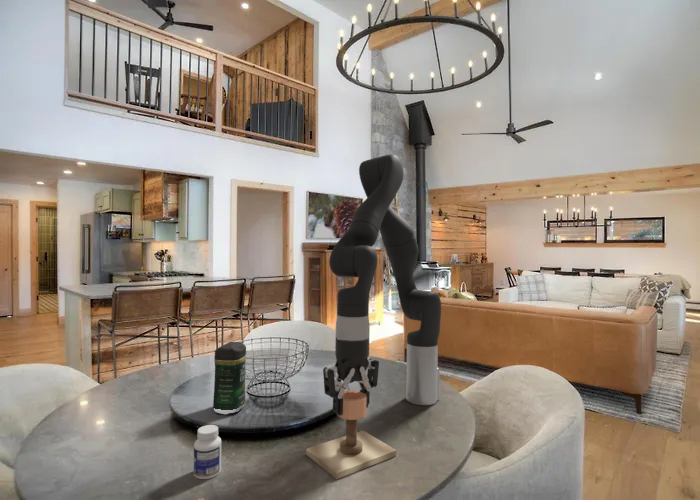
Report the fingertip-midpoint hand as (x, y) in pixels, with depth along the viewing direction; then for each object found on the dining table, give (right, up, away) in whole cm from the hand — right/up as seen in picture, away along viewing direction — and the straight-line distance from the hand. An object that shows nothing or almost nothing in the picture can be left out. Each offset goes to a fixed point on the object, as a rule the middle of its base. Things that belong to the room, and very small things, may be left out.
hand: (351, 410), depth 89 cm
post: (0, -9, 0) cm, 9 cm away
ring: (0, -1, 0) cm, 1 cm away
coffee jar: (-34, -10, +24) cm, 43 cm away
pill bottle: (-29, -10, -8) cm, 32 cm away
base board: (0, -10, 0) cm, 10 cm away
